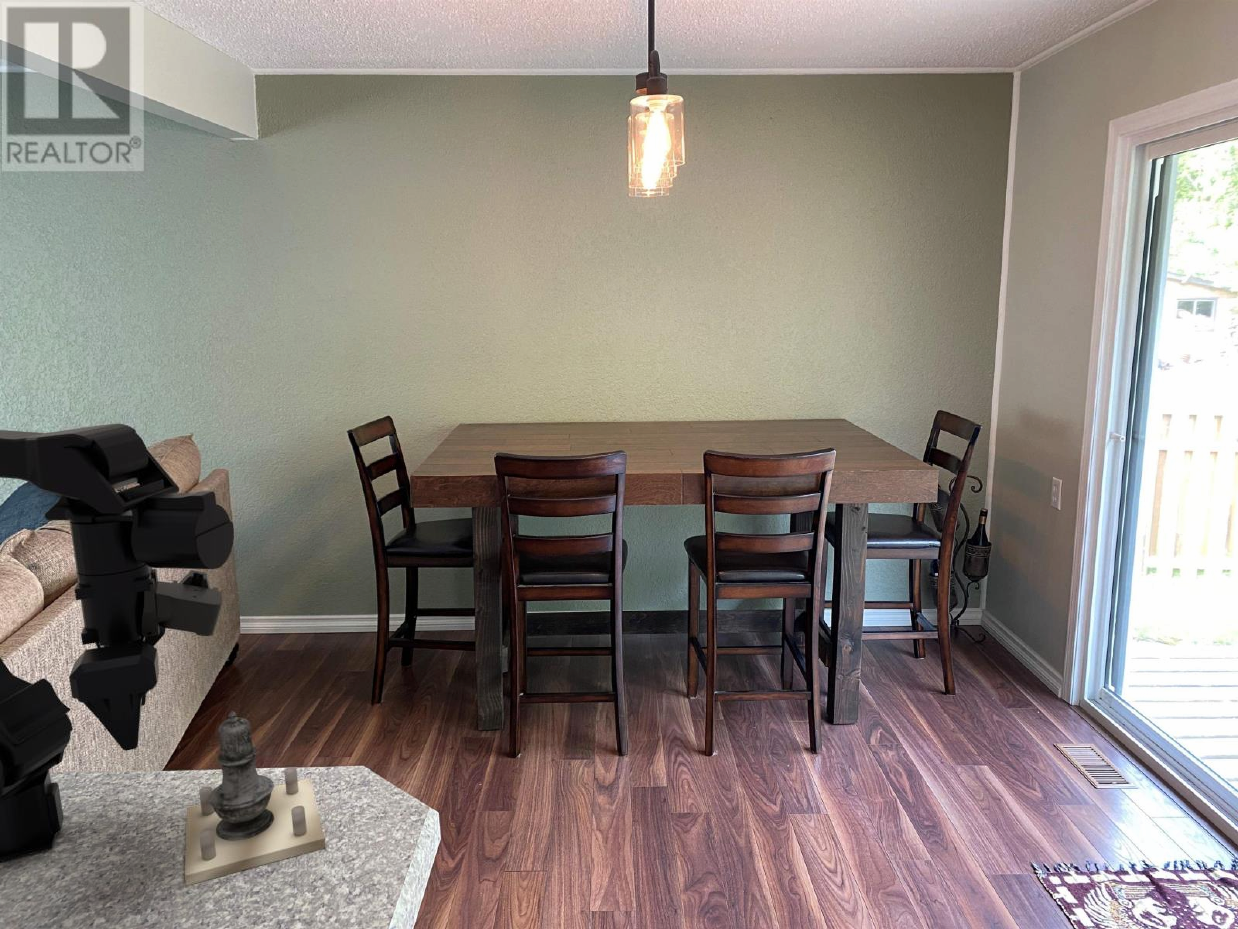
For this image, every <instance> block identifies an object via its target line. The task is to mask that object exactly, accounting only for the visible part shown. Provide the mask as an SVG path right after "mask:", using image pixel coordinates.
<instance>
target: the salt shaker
mask: <svg viewBox="0 0 1238 929" xmlns="http://www.w3.org/2000/svg"><path fill="white" fill-rule="evenodd" d="M236 715H237V713H236V712H235V711H234V710H231V711H230V713H229V714H228V717H229V718H227V719H226V720H224V721H223V722H221V723H220V725H219V726H218V731H217V732H218V740H219V742H218V743H219V750H220V751H219V752H220V753H219V754H218V755H217V758H216V762H217V763H218V764H220V765H221V766H220V767H221V774H222V781H221V783H220V784H218V786H216V787H215V788H214V789H212V792H211V793H210V796H209V803H210V804H211V806H213V808H214V811H215V812H216V814H217V815H218V816H219V818H221V819H222V820H221V821H220V823H219V824H218V825H217V827H216V834H217V835H218V837H220V838H222V839H224V840H233V841H236V840H243V839H247V838H251V837H253V836H256V835H258V834H260V833H262V832H264V831H265V830H266V829H268V828H269V827H270V826H271V824H272V823H273V821H274V815H273V813H272V812H271V811H270V810H268V809H265V808H266V807H267V806H268V803H269V800H270V797H271V792H272V790H273V788H274V786H275V785H274V781H273V780H272V779H271V778H269V777H268V776H265V775H263V774H262V775H261V774H258V772H257V767H256V766H257V765H256V757H257V754H258V749H257V748H256V747H255V746H253V739H252V732H251V731H252V729H251V724H250V721H248V720H247V719H246V718H243V717H238V716H236Z"/></svg>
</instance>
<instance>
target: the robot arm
mask: <svg viewBox="0 0 1238 929" xmlns="http://www.w3.org/2000/svg"><path fill="white" fill-rule="evenodd" d="M1 478H2V479H14V480H21V481H25V482H29V483H31V484H33V485H34V486H36V488H38V489H39V490H41V491H43V492H46V493H50V494H53V495H57V496H60V497H59V499H58V500H57V502H56V503H54V505H52V506H51V507H50V508H49V509H48V510H47V511H46V512H45V513H44V518H45V520H46V521H67V522H69V526H70V535H71V541H72V546H73V547H72V549H73V556H74V562H75V569H76V576H77V582H76V585H75V587H74V596H75V601H80V604H81V612H82V613H81V614H82V620H83V625H84V627H83V629H82V630H81V633H80V636H81V644H82V645H83V646H85V645H91V644H95V646H96V648H90V649H86V650H84V651H83V652H82V653H81V654H80V656H79V657H78V658H77V659H76V660H75V661H74V663H73V667H72V669H71V671H70V674H69V676H68V679H69V685H70V691H71V698H72V699H76V700H77V701H78V702H79V703H83V704H84V705H85V707H86V708H87V709H88V710H89V711H90V712H91V713H92V714H93V715H94V716H95V717H96V719H97V720H98V721H99V722H100V723H101V725H103V727H104V728H105V730H106V731H107V732H108V733H109V734H110V735H111V737H112V738H113V739H114V740H115V741H116V743H117V744H118V745H119V746H120V748H121V749H122V750H123V751H125V752H126V751H133V750H135V749H138V747H139V746H138V745H139V736H140V725H141V716H142V715H141V713H142V707H144V706H145V705H146V701H147V700H146V699H147V693H148V692H149V691H151V690H153V689H154V688H155V687H156V686H157V684H158V681H159V676H160V675H159V674H160V669H159V668H160V666H159V656H158V655H159V654H158V649H157V647H155V646H156V645H157V643H158V642H159V641H160V640H161V639H162V638H163V637H164V635H165V634H166V630H167V629H169V630H174V631H181V632H188V633H195V635H197V636H201V637H210V636H214V634H215V630H216V626H217V623H218V620H219V615H220V612H221V609H222V605H223V593H222V591H220V590H218V589H219V588H218V587H214V586H213V588H211V585H210V582H209V578H208V573H207V572H204V571H199V570H217V569H219V568H221V567H222V566H223V565H224V564H225V563H227V560H228V559H229V558H230V555H231V553H232V550H233V547H234V538H235V529H234V522H233V521H231V519H230V517H229V516H230V515H229V514H228V512H227V510H226V509H225V508H224V507H223V506H221V505H219V503H218V504H217V499H216V498H217V497H216V493H215V492H214V491H213V490H201V491H200V490H199V491H196V492H180V488H179V486H178V485H177V483H176V482H175V481H174V480H173V479H172V478H171V476H170V475H169V474H168V473H167V471H166V470H165V469H164V468H163V467H162V466H161V464H160V463H159V462H158V461H157V459H156V458H155V456H153V454H152V453H151V452H150V451H149V450H148V449H147V446H146V444H145V442H144V440H143V438H142V437H141V436H140V435H139V434H138V432H137V431H136V429H135V428H133V427H131V425H127V424H123V423H109V424H108V423H107V424H101V425H93V426H92V425H91V426H85V427H78V428H70V429H65V430H59V431H58V430H57V431H49V432H35V431H22V430H21V431H20V430H8V429H7V430H6V429H0V479H1ZM134 484H138V485H135V486H132V485H134ZM128 486H132V487H129V488H125V487H128ZM122 488H125V489H122ZM118 489H119V490H120V489H122V490H120V491H116V490H118ZM157 569H177V570H179V569H181V570H182V569H184V570H185V569H186V570H189V569H190V571H189V572H188V573H187V574H186V575H185V576H184V577H183V578H182V579H181V580H180V581H178V580H172V582H167V581H160V580H159V579H158V572H157ZM70 711H71V708H70V707H69V706H67V705H66V704H64V703H63V701H62V700H61V699H60V698H59V696H58V694H57V693H56V691H55V689H54V686H53V684H52V683H51V682H50V681H49V680H47V679H46V678H44V677H43V678H40V679H39V680H36V681H35V682H33V683H32V682H30V681H27V680H24V679H22V678H20V677H18V676H16V675H15V674H13V673H12V672H11V670H10V669H9V668H8V667H7V665H6V663H5V662H4V660H3V659H2V658H1V657H0V862H3V861H7V860H11V859H15V858H20V857H24V856H27V855H32V854H36V853H40V852H44V851H49V850H50V849H52V848H53V847H54V844H55V841H56V838H57V833H58V834H59V832H60V831H61V830H62V825H63V823H64V822H63V821H64V818H65V817H64V811H63V805H62V799H61V793H60V786H59V783H58V782H56V781H54V782H52V781H51V780H52V779H51V778H52V777H51V774H50V770H51V769H52V768H54V767H55V766H58V765H59V764H60V763H62V762H63V757H64V754H65V750H66V748H67V746H68V745H69V743H70V740H71V736H72V735H71V733H72V732H73V730H74V728H73V724H72V720H71V719H70V718H69V717H70V716H69V715H68V713H69V712H70Z"/></svg>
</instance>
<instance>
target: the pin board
mask: <svg viewBox="0 0 1238 929" xmlns="http://www.w3.org/2000/svg"><path fill="white" fill-rule="evenodd" d="M283 772H284V773H283V774H284V783H283V784H280V785H274V788H273V790H272V792H271V797H270V800H269V803H268V806H267V807H266V808H265V809H268V810H270V811H271V812H272V813H273V815H274V821H273V823H272V824H271V826H270V827H269V828H268V829H266V830H265V831H264V832H262V833H260V834H258V835H256V836H253V837H251V838H247V839H243V840H236V841H233V840H224V839H222V838H220V837H218V835H217V834H216V827H217V825H218V824H219V823H220V821H221V820H222V819H221V818H219V816H218V815H217V814H216V812H215V811H214V808H213V806H211V804H210V803H209V796H210V793H211V792H212V791H213V787H212V786H210V785H209V786H208V785H207V786H204V787H202V788H200V789H198V792H199V793H198V794H199V795H198V796H199V801H200V804H196V805H192V806H187V807H186V818H185V819H186V822H185V823H186V826H185V827H186V828H185V830H186V831H185V854H184V855H185V857H184V858H185V860H184V861H185V862H184V865H185V866H184V878H185V885H186V886H189V885H193V884H197V883H201V882H205V881H208V880H212V879H216V878H219V877H223V876H227V875H230V874H234V873H238V872H241V871H244V870H248V869H252V868H256V867H259V866H260V867H261V866H263V865H267V864H270V863H274V862H278V861H281V860H285V859H289V858H292V857H296V856H300V855H303V854H307V853H312V852H314V851H315V852H316V851H319V850H322V849H323V850H324V849H325V848H326V841H325V840H326V839H325V835H324V831H323V826H322V821H321V817H320V813H319V807H318V804H317V800H316V796H315V792H314V787H313V782H312V779H311V777H308V778H304V779H301V780H298V772H297V767H296V766H289V767H286V768H285V769H284V771H283Z"/></svg>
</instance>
